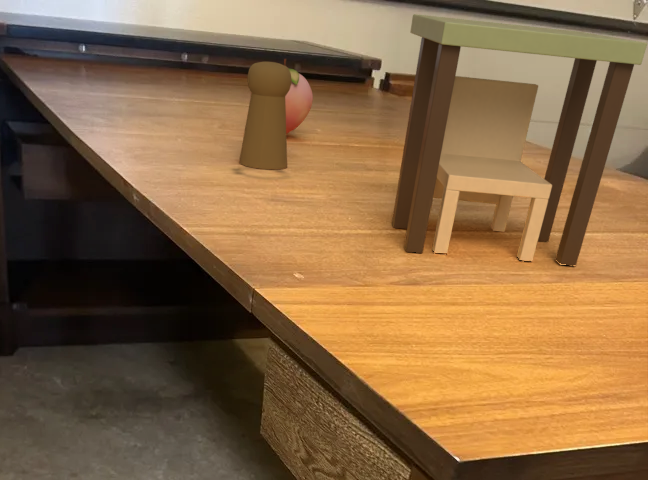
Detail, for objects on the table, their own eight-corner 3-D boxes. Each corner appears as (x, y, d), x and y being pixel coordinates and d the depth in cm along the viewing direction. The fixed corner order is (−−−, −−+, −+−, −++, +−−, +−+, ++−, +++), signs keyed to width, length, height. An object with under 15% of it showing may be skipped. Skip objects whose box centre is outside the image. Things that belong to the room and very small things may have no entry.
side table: (532, 225, 86) (581, 31, 76) (581, 269, 73) (648, 43, 63) (382, 211, 85) (413, 14, 75) (404, 254, 72) (444, 21, 62)
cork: (252, 157, 104) (259, 58, 98) (295, 165, 102) (305, 64, 96) (229, 163, 100) (235, 59, 94) (274, 171, 98) (282, 66, 92)
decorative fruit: (237, 130, 121) (241, 53, 115) (285, 131, 125) (292, 56, 119) (267, 143, 114) (273, 61, 109) (317, 143, 118) (325, 64, 112)
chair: (501, 228, 83) (536, 84, 76) (532, 262, 74) (575, 99, 66) (415, 220, 83) (440, 74, 76) (433, 253, 73) (465, 88, 66)
